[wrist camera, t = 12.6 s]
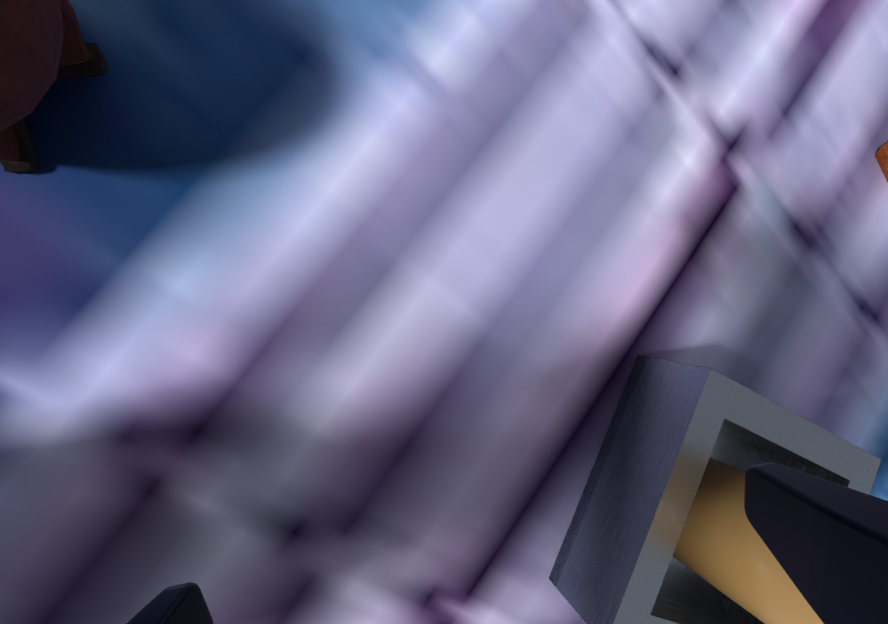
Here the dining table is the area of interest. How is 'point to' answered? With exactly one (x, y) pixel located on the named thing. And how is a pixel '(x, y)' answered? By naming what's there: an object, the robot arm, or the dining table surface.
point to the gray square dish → (678, 491)
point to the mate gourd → (36, 68)
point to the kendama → (883, 159)
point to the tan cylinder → (737, 551)
